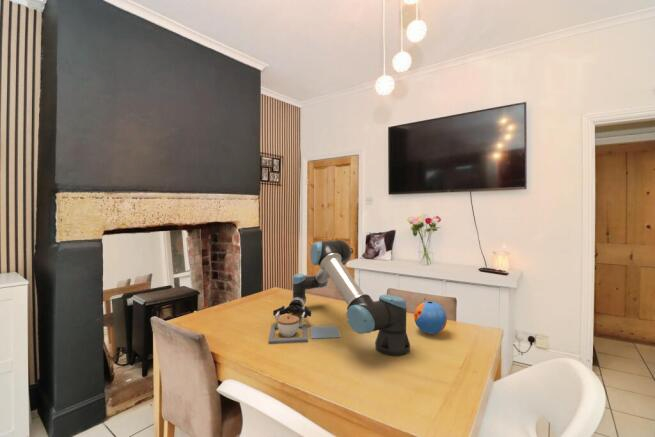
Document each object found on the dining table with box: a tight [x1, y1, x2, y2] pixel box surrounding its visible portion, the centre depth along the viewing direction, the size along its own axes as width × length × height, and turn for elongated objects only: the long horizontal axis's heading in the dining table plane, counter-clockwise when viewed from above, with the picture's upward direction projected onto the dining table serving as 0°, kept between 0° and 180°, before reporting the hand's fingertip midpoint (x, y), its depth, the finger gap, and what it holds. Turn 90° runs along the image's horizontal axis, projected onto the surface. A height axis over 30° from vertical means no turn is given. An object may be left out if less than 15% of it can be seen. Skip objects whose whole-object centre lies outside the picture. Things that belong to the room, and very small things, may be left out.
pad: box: [309, 325, 342, 340], centre depth 158 cm, size 14×14×1 cm
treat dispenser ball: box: [413, 301, 448, 335], centre depth 158 cm, size 16×15×15 cm
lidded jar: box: [276, 314, 300, 338], centre depth 156 cm, size 11×11×9 cm
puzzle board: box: [267, 323, 309, 345], centre depth 157 cm, size 20×18×1 cm
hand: (289, 318), depth 161 cm, fingers open, 13 cm apart
